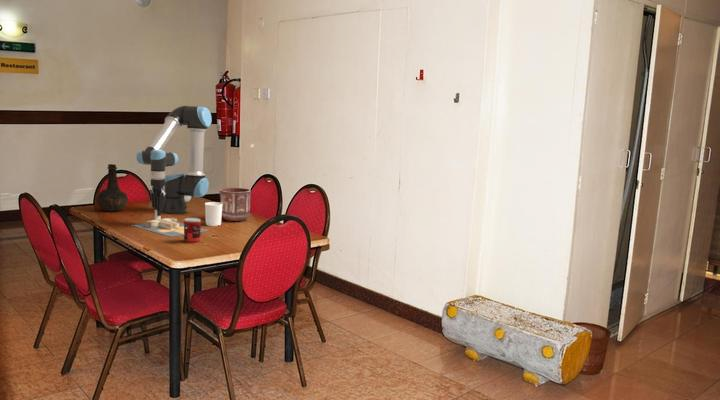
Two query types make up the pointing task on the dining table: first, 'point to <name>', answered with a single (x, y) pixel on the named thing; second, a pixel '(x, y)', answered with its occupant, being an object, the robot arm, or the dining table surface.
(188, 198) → the teacup
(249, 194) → the pottery
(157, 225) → the t block
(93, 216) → the dining table surface
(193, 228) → the canned food
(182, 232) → the push mat
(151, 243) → the dining table surface
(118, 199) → the dark mottled flask
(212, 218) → the candle holder
